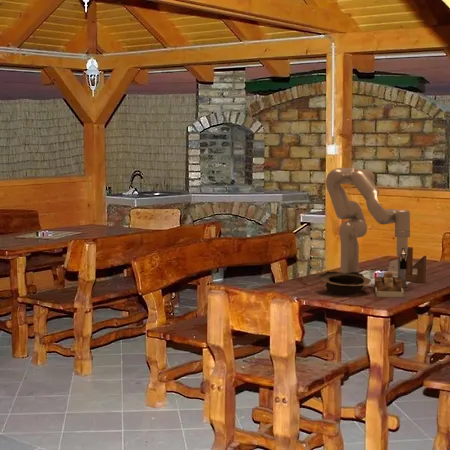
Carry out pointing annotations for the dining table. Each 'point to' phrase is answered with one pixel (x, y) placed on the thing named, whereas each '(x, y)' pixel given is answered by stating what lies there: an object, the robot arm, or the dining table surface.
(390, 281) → the birch block
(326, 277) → the stone bowl
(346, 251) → the robot arm
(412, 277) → the tan angled rod fixture
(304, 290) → the dining table surface
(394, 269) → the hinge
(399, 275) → the square grey bottle
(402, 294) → the tray
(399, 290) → the groove board
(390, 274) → the oak block
